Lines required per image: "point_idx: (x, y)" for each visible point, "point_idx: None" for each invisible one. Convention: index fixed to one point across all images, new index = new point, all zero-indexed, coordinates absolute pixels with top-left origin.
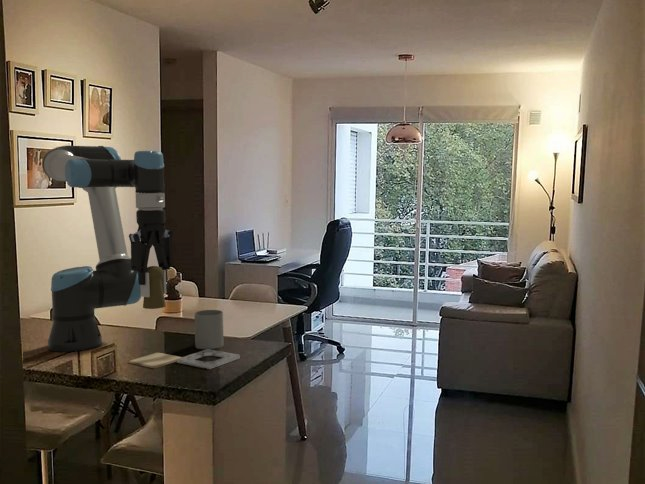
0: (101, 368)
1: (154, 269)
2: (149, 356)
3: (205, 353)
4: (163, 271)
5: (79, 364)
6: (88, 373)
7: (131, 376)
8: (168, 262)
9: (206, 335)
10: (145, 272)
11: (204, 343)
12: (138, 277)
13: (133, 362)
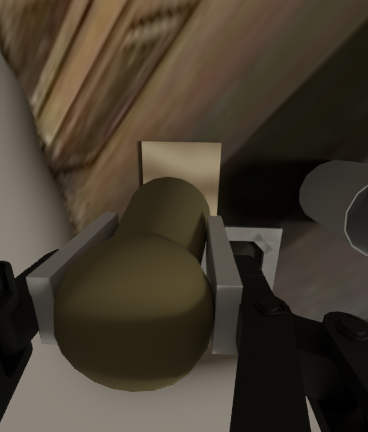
0: (86, 120)
1: (96, 380)
2: (187, 154)
3: (255, 242)
4: (212, 342)
5: (71, 43)
6: (51, 127)
7: (93, 213)
8: (328, 397)
9: (316, 217)
10: (29, 343)
11: (305, 207)
12: (22, 274)
13: (142, 155)
